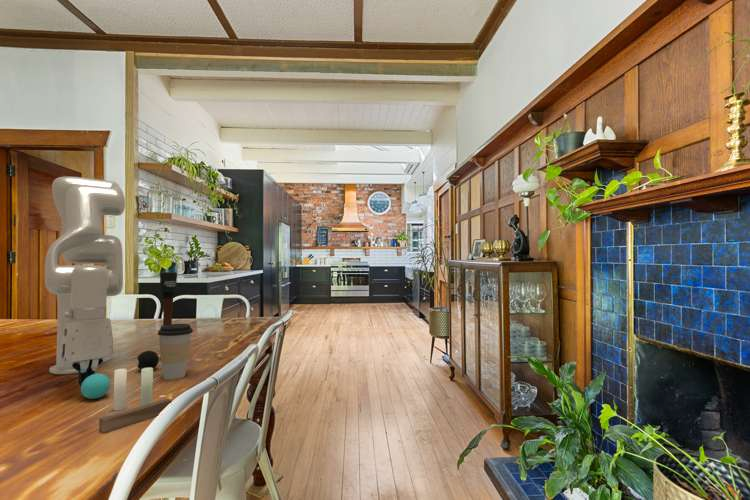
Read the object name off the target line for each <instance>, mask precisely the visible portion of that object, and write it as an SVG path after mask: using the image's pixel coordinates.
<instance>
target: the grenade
mask: <svg viewBox="0 0 750 500" xmlns="http://www.w3.org/2000/svg"><path fill="white" fill-rule="evenodd" d="M159 275H160V276H159V278H160V279H159V290H158V292H159V293H161V295H162V296H161V297H162V313H163V317H162V319H163V320H162V326H164V325H169V324H173V322H172V321H173V320H172V318H173V317H172V316H173V309H174V298H175V297H174V296H175V292H178V289H177V288H178V285H177V284H178V283H177V281H178V273H177V272H175V271H163V272H160V274H159Z"/></svg>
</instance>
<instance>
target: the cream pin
mask: <svg viewBox="0 0 750 500" xmlns="http://www.w3.org/2000/svg"><path fill="white" fill-rule="evenodd" d="M113 371H114V376H113V377H114V378H113V405H112V406H113V410H112V411H115V412H117V411H118V412H119V411H124V410H125V409H126V404H127V402H126V401H127V373H128V369H127V368H117V369H115V370H113Z"/></svg>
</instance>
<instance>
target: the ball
mask: <svg viewBox="0 0 750 500" xmlns="http://www.w3.org/2000/svg"><path fill="white" fill-rule="evenodd" d="M110 388H111V381H110V378H109V377H108V376H107V375H106V374H104V373H95V374H93V375H90V376H88V377H87V378H86V379H85V380H84V381H83V383H82V385H81V386H80V392H81V394H82V396H83V397H85V398H87V399H89V400H90V399H91V400H96V399H101V398H102V397H103V396H105V395H106V394H107V393H108V392H109V390H110Z"/></svg>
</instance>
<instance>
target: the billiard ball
mask: <svg viewBox="0 0 750 500" xmlns="http://www.w3.org/2000/svg"><path fill="white" fill-rule="evenodd" d="M159 357H160V356H159V355H158V354H157V352H155V351H152V350H144V351H143V352H141V353H140V354H139V355H138V356H137V358H136V366H137V368H138V369H139V370H140V371H141V369H143V368H149V367H151V368H153V370H154V369H155V368H156V367H157V366H158V365H159V361H160V359H159Z"/></svg>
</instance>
